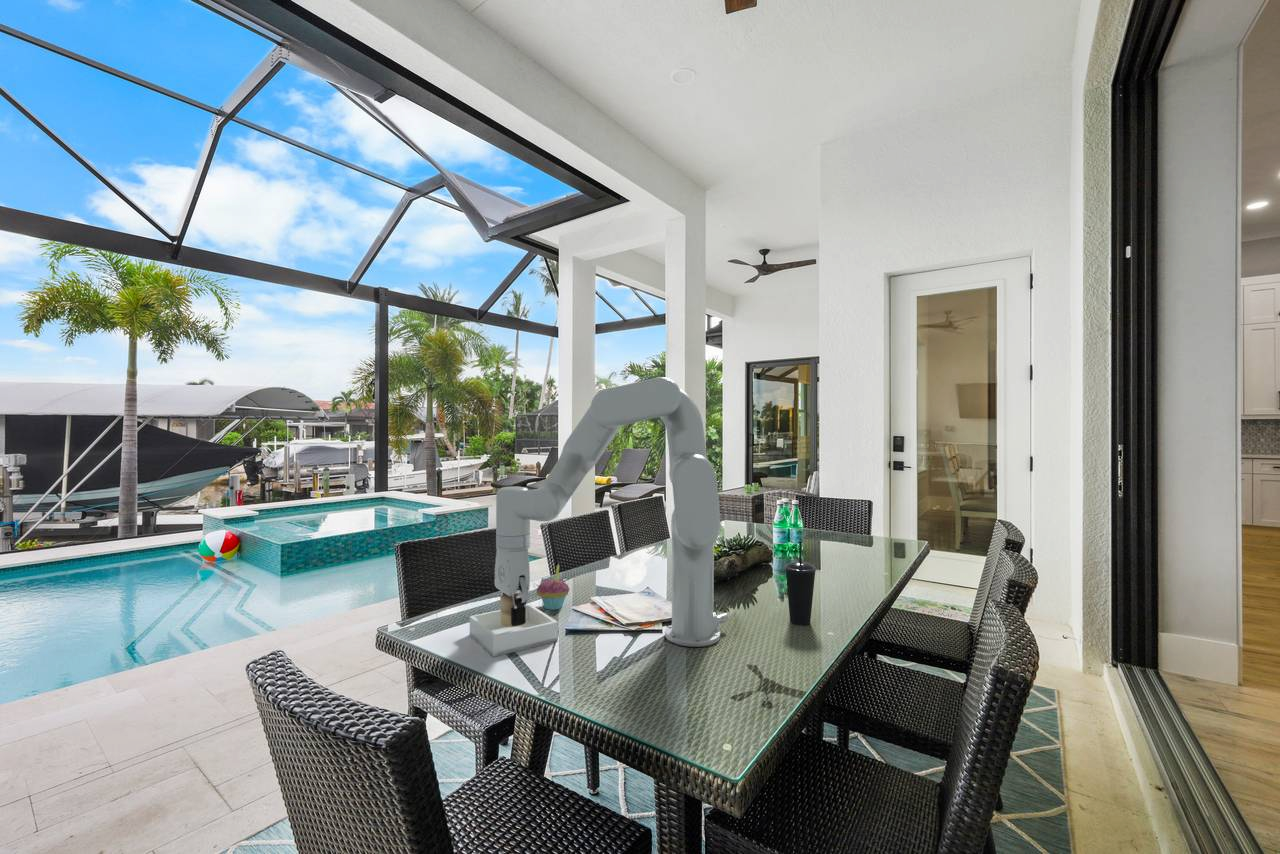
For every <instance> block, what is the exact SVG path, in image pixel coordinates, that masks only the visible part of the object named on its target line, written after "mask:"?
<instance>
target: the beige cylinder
mask: <svg viewBox="0 0 1280 854" xmlns="http://www.w3.org/2000/svg"><path fill="white" fill-rule="evenodd" d="M516 593H517V592H516ZM516 593H515V594H516ZM520 596H521V595H520ZM520 596H516V601H517V600H518V598H520ZM511 608H513V603H512V596H508V595H506V594H505V595H502V596H501V598H500V610H501V625H502V626H504V627H517V626H521V625H517V626H512V625H511ZM522 625H523V624H522Z"/></svg>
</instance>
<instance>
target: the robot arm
mask: <svg viewBox="0 0 1280 854" xmlns="http://www.w3.org/2000/svg"><path fill="white" fill-rule="evenodd" d="M657 418H660V419H661V420H662V421H663V423H664V426H665V430H666V439H667V445H668V458H669V461H668V462H669V472H668V473H669V474H668V475H669V480H670V483H671V486H672V496H673V505H674V509H673V511H672V514H671V522H670V524H671V525H670V527H671V528H670V529H671V556H672V557H671V560H672V562H671V565H672V567H671V625H669V626H667V627H666V628H665V630H664V637H665V638H666V640H668V641H669V642H671V643H673V644H675V645H679V646H681V647H682V646H684V647H691V648H692V647H693V648H695V647H696V648H699V647H708V646H711V645H714V644H716V643H718V642H719V641H720V639H721V631H720V630H719V629H718V628H717V627H718V626H719V625H720V624H724V623H727V622H728V621H729V615H728V613H722V614H719V615H717V613H716V612H714V599H715V597H714V591H715V590H714V586H715V585H714V581H715V580H714V579H715V577H714V576H715V575H714V573H715V572H714V570H715V552H714V551H715V550H714V549H715V548H714V547H715V546H714V543H715V542H716V541H717V539H718V538H719V535H720V531H721V513H720V502H719V500H720V499H719V489H718V480H717V479H718V478H717V474H716V470H715V468H714V467H715V466H714V465H713V464H712V463H711V461H710V460H709V459H708V455H707V447H706V446H707V445H706V438H705V430H704V424H703V418H702V415H701V413H700V410H699V408H698V406H697V404H696V403H695V401H694V400H693V399H692V397H691V396H689V394H687V393H686V392H685V391H684V390H682V389H681V388H680V387H679V385H678V384H677V383H676V382H675V381H674V380H672V379H671V378H669V377H664V376H657V377H652V378H649V379H645V380H639V381H636V382H632V383H628V384H622V385H619V386H618V385H617V386H614V387H607V388H604V389H601V390H600V391H598V392H597V393H595V395H593V398H592V400H591V403H590V406H589V408H588V409H587V410H586V412H585V413H584V415H583V416H582V418H581V419H580V421H579V422H578V423H577V425H576V426H575V428H574V430H573V431H572V432H571V433H570V435H569V436H568V438H567V439H566V441H565V442H564V445H563V447H562V451H561V453H560V456H559V458H558V460H557V461H556V463H555V465H554V466H553V468H552V469H551V471H550V472H549V474H548V475H547V476H546V478H545V479H544V481H543V483H542V484H541V486H539V487H537V488H534V489H529V488H528V487H525V486H518V485H517V486H503V487H500V488H499V489H498V490H497V491H496V495H495V499H496V501H495V502H496V503H495V505H496V506H495V514H496V515H495V519H496V520H495V525H496V526H495V529H496V531H495V533H496V534H495V543H496V544H495V548H496V549H495V550H496V555H495V564H494V586H495V588H496V589H497V590H498V591H500V595H499V596H500V599H501V596H502V595H505V594H506V595H508V596H512V603H513V608H511V625H512V626H517V625H522V624H525V622H526V605H527V602H528V599H529V598H530V594H529V591H530V586H531V585H530V584H531V575H530V574H531V572H530V569H531V568H530V557H529V549H530V548H531V521H535V522H549V521H553V520H554V519H556V518H557V517H558V516H559V515H560V513H561V512H562V511H563V509H564V508H565V506H566V505H567V503H568V502H569V501H570V499H571V497H572V496H573V495H574V493H575V492H576V490H577V488H579V486H580V485H581V483H582V481H583V480H584V478H585V477H586V476H587V475H588V473H590V471H591V470H593V468H594V467H595V466H596V464H597V463H598V461H599V460H600V458H601V457H602V455H604V452H605V451H606V449H607V448H608V447H609V445H610V444H611V442H612V441H613V439H614V438H615V437H616V435H617V434H618V432H619V431H620V429H621V428H622V426H626V425H631V424H635V423H640V422H644V421H648V420H653V419H657ZM517 591H519V592H517ZM515 593H516V594H515ZM520 595H521V596H520ZM516 596H520V598H518V600H517V601H516Z"/></svg>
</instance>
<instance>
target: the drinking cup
mask: <svg viewBox="0 0 1280 854" xmlns="http://www.w3.org/2000/svg"><path fill="white" fill-rule="evenodd" d="M783 567H784V570H785V577H786V579H785V580H786V589H787V591H786V592H787V600H788V601H787V602H788V612H789V614H788V615H789V622H790V623H791V624H793V625H797V626H808V625H810V624H811V620H812V609H813V599H814V588H815V587H814V586H815V576H816V572H817V567H816V566H815V565H813V564H811V563H809V562H806V561H803V541H802V540H799V541H798V560H797V561H792V562H789V563H787V564H784V566H783Z"/></svg>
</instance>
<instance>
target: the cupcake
mask: <svg viewBox="0 0 1280 854" xmlns="http://www.w3.org/2000/svg"><path fill="white" fill-rule="evenodd" d="M559 572H560V562H558V563H557V566H556V570H555V578H554V579H548V580H544V581H542V582H541V583H540V584H538V586H537V588H536V594H537V596H539V597H540V598H541V600H542V603H543V607H544V608H545V610H559V609H561V608H563V607H564V606H563V605H564V602H565V600H566V597H567V596H568V594H569V592H570V587H569V585H568V583H566V582H565V581H563V580H562V579H559Z"/></svg>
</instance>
